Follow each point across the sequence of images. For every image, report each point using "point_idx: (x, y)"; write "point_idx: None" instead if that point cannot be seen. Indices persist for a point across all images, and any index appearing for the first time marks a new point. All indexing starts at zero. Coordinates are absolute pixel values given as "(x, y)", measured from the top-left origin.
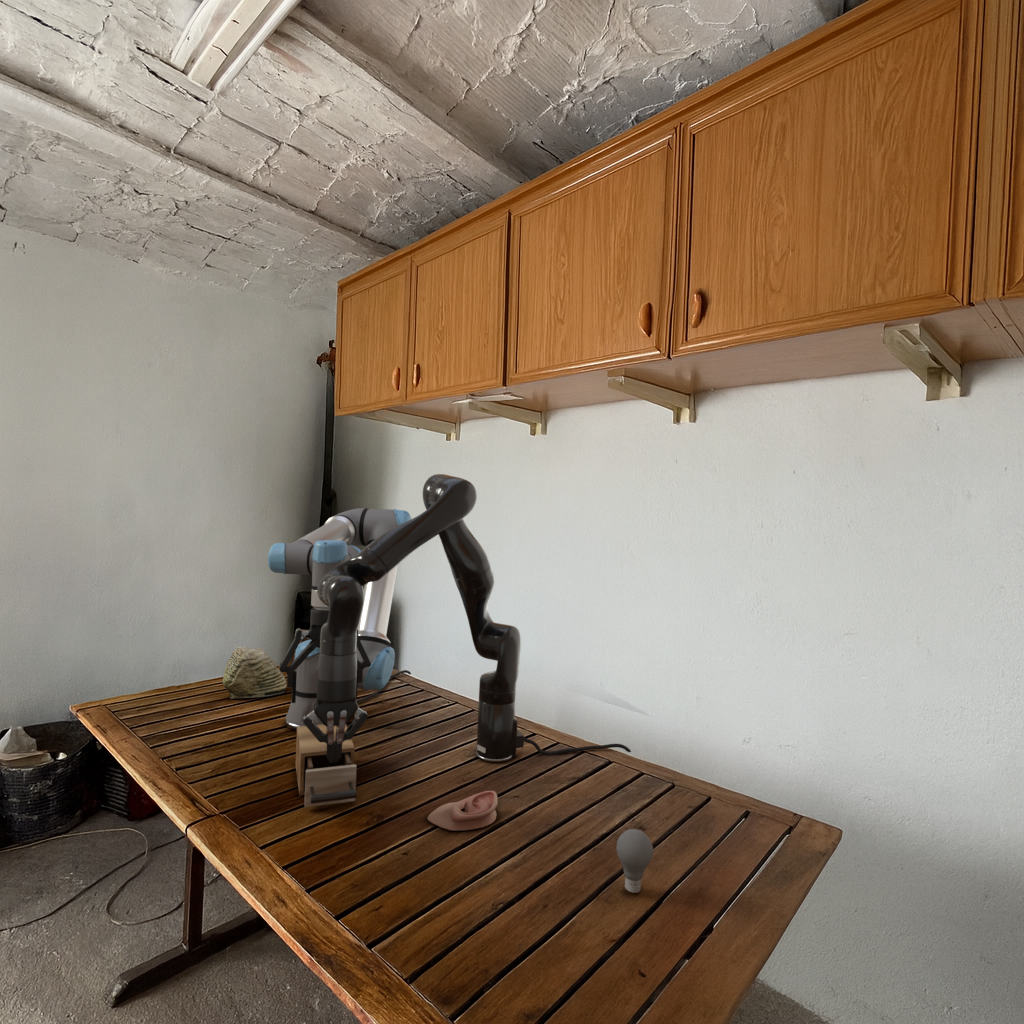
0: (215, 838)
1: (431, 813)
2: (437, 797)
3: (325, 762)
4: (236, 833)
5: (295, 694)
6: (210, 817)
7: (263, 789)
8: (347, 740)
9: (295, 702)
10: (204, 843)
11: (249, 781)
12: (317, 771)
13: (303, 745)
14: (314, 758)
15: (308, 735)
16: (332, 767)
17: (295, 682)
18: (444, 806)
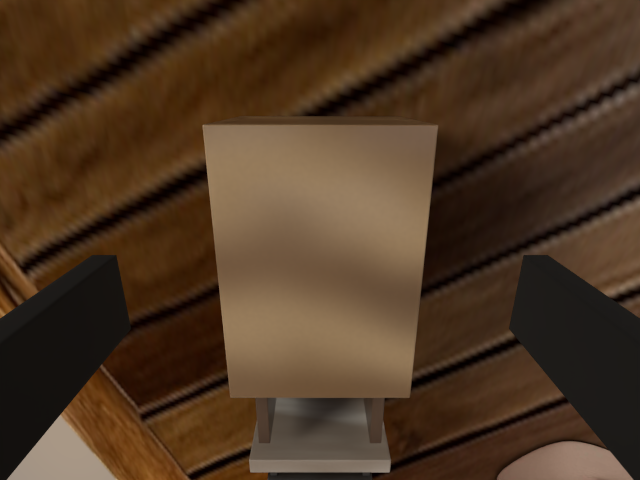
0: (102, 434)
1: (511, 475)
2: (559, 402)
3: None
4: (137, 428)
5: (97, 365)
6: None
7: (161, 262)
8: (399, 335)
9: (129, 328)
10: (87, 444)
11: (114, 203)
12: (280, 471)
13: (237, 340)
14: None
15: (256, 251)
16: (323, 464)
17: (27, 445)
18: (546, 477)
